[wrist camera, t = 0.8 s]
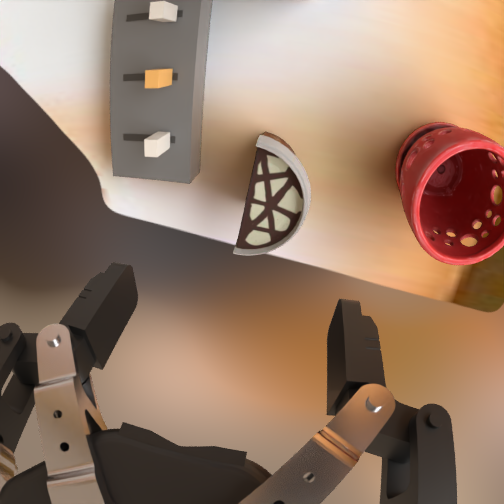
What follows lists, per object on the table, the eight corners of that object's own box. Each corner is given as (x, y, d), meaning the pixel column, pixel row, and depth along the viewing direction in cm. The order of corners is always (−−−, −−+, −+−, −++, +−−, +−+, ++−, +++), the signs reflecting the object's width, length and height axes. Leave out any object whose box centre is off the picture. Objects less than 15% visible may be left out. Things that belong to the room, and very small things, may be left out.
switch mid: (160, 68, 28) (145, 70, 25) (172, 68, 28) (158, 70, 25) (159, 84, 29) (144, 88, 26) (171, 85, 29) (158, 88, 26)
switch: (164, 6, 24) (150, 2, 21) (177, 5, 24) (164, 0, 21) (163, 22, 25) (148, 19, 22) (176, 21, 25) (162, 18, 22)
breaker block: (131, -14, 26) (114, -19, 23) (214, -21, 25) (204, -30, 22) (126, 164, 39) (110, 176, 36) (199, 171, 39) (189, 184, 35)
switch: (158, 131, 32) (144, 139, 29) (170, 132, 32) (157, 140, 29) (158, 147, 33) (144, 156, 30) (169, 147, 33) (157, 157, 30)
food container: (294, 225, 41) (291, 272, 33) (247, 213, 41) (231, 257, 33) (321, 133, 34) (328, 158, 26) (268, 119, 34) (256, 139, 26)
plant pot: (438, 92, 29) (490, 109, 19) (491, 173, 32) (540, 215, 22) (361, 161, 35) (384, 204, 25) (422, 232, 39) (452, 290, 29)
